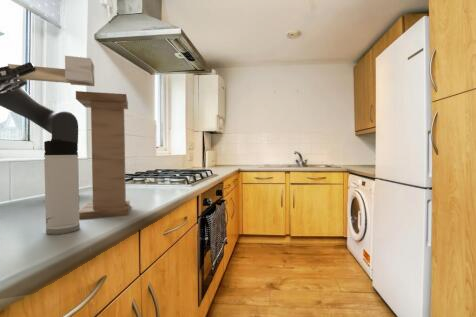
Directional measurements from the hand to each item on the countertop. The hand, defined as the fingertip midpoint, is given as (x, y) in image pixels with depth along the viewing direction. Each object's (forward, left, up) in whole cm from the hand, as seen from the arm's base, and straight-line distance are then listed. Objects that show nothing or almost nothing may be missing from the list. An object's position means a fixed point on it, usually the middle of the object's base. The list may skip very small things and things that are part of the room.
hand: (35, 68), depth 73 cm
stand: (0, +17, -40) cm, 43 cm away
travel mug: (+18, +10, -40) cm, 45 cm away
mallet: (0, +4, -3) cm, 5 cm away
